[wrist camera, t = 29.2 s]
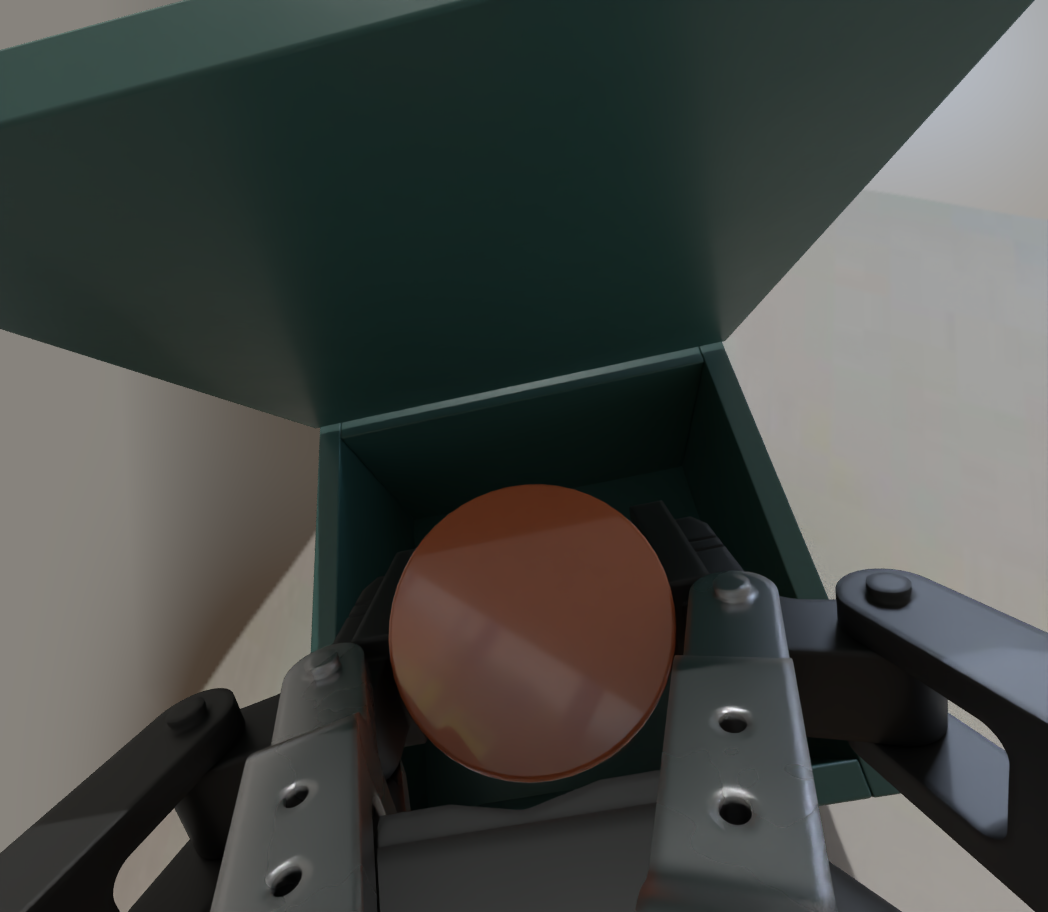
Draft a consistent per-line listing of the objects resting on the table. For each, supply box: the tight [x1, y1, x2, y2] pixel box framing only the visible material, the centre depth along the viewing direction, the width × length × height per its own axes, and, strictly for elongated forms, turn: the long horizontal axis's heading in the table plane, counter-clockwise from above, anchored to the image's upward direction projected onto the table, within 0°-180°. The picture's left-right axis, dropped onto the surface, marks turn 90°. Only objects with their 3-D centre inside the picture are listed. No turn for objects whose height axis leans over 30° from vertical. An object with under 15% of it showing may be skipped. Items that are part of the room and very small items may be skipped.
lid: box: [0, 0, 1034, 428], centre depth 12 cm, size 14×15×5 cm
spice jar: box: [389, 484, 677, 783], centre depth 12 cm, size 5×5×8 cm
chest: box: [311, 342, 900, 811], centre depth 20 cm, size 14×15×9 cm
